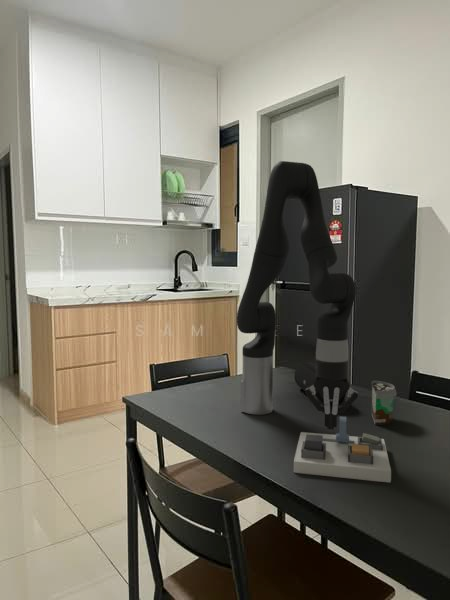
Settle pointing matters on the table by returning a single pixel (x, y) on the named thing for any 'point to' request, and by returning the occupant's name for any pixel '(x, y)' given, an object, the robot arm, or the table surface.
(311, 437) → the gray push button
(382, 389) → the food container
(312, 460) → the control panel
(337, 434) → the blue paddle
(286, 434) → the table surface
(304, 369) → the portable speaker
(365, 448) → the orange push button
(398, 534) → the table surface
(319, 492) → the table surface
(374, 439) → the olive rocker
